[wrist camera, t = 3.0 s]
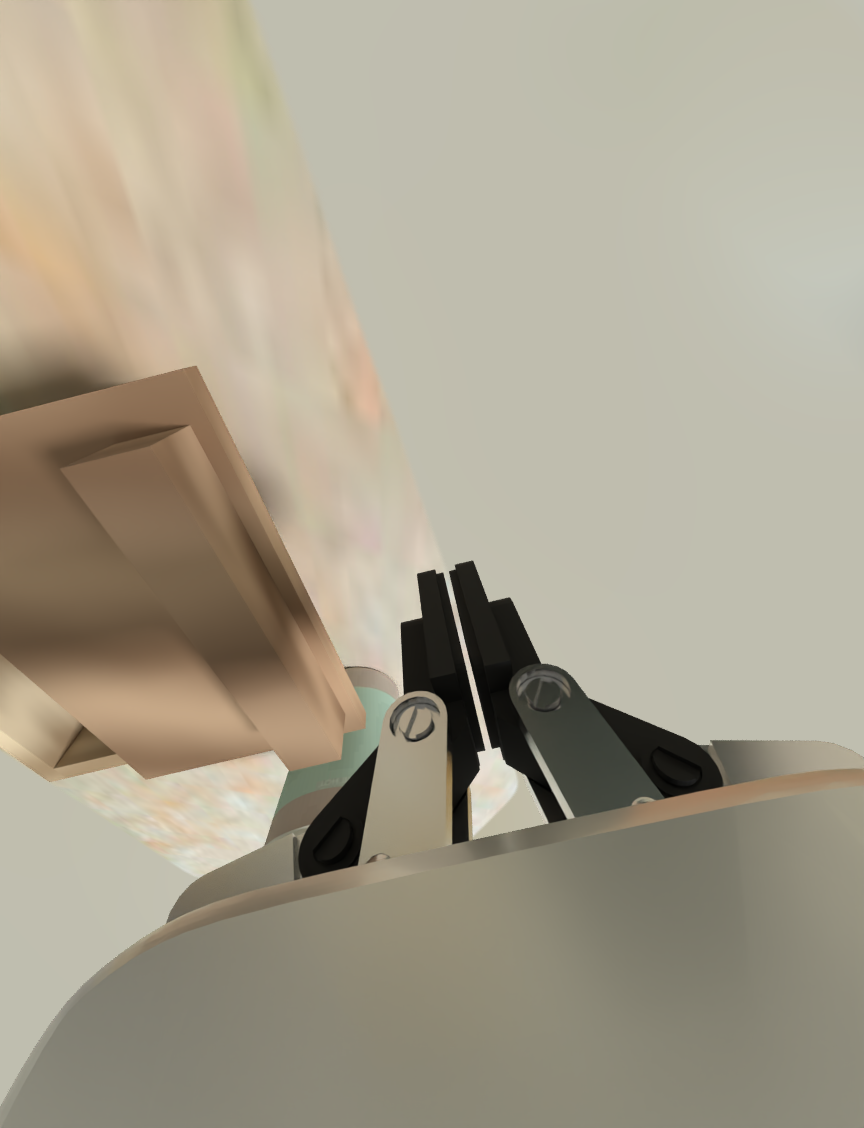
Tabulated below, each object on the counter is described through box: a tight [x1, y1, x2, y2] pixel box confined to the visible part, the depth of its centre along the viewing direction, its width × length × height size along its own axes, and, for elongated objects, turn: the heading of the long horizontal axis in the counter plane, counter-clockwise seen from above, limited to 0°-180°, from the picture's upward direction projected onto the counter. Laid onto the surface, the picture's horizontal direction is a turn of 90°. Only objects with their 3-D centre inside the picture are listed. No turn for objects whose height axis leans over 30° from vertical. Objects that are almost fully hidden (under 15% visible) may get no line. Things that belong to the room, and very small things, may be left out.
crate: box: [0, 654, 127, 782], centre depth 17 cm, size 14×10×7 cm
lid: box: [0, 366, 366, 779], centre depth 13 cm, size 14×10×3 cm
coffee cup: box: [263, 667, 399, 847], centre depth 22 cm, size 8×9×12 cm
